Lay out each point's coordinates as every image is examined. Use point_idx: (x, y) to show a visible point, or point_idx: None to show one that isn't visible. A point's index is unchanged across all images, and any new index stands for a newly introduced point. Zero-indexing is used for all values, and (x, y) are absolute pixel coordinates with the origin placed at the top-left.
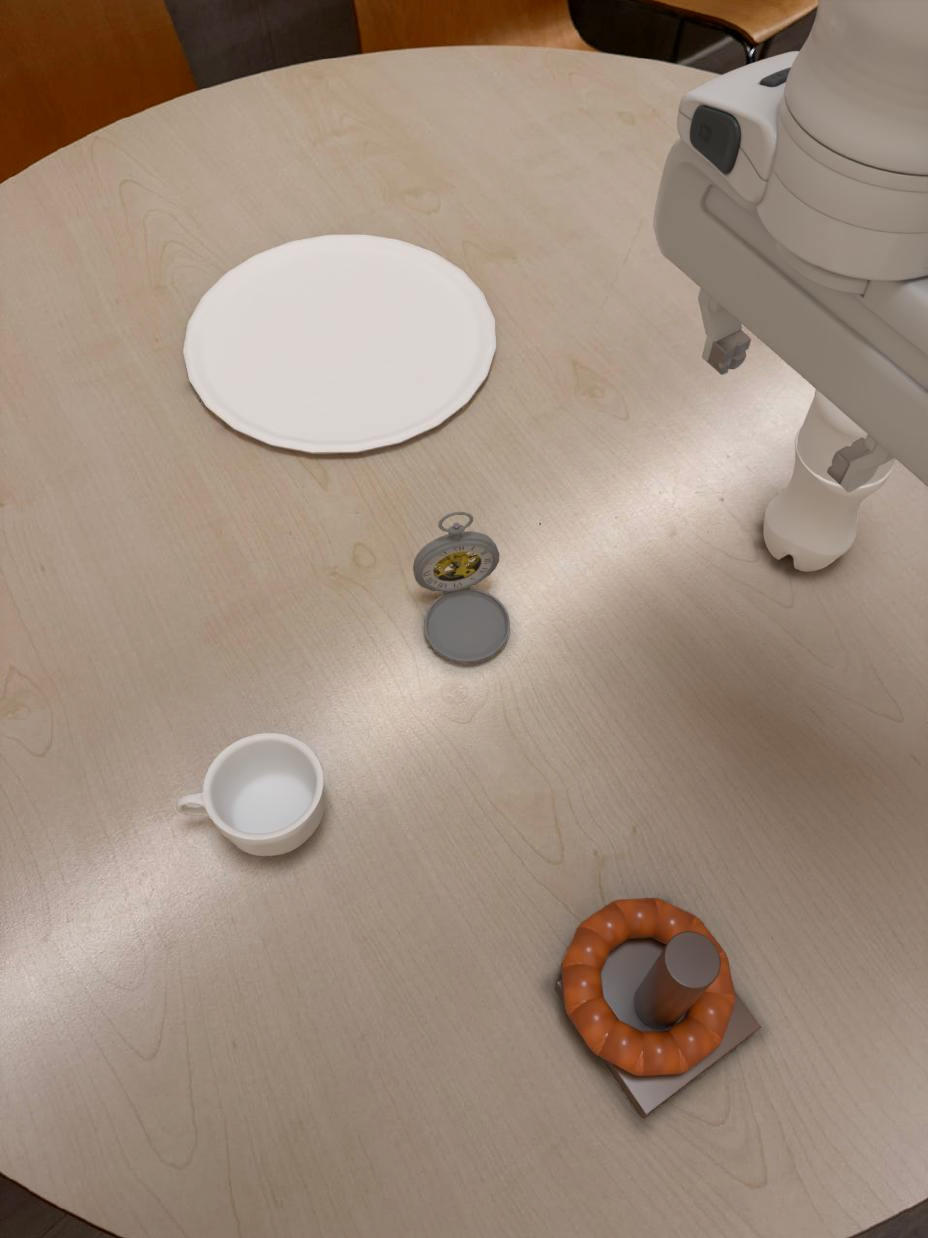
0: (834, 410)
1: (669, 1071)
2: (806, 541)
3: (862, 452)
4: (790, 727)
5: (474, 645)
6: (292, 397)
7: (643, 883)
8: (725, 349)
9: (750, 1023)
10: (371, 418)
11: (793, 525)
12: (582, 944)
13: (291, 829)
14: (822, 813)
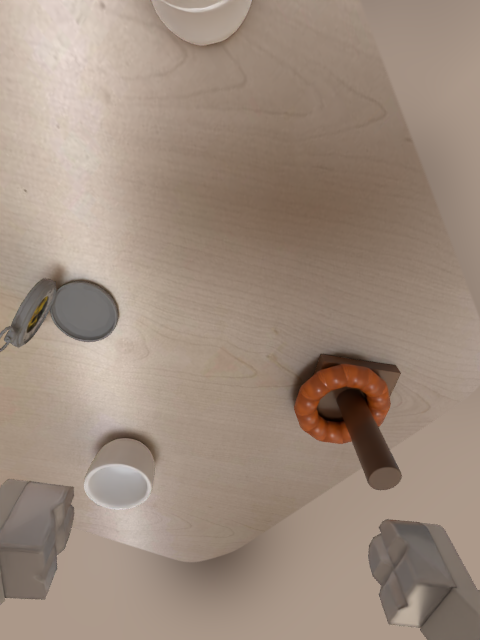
0: None
1: None
2: (221, 31)
3: (434, 604)
4: (314, 193)
5: (101, 315)
6: None
7: (301, 350)
8: (37, 595)
9: (395, 375)
10: None
11: (199, 31)
12: (304, 422)
13: (150, 490)
14: (368, 235)
